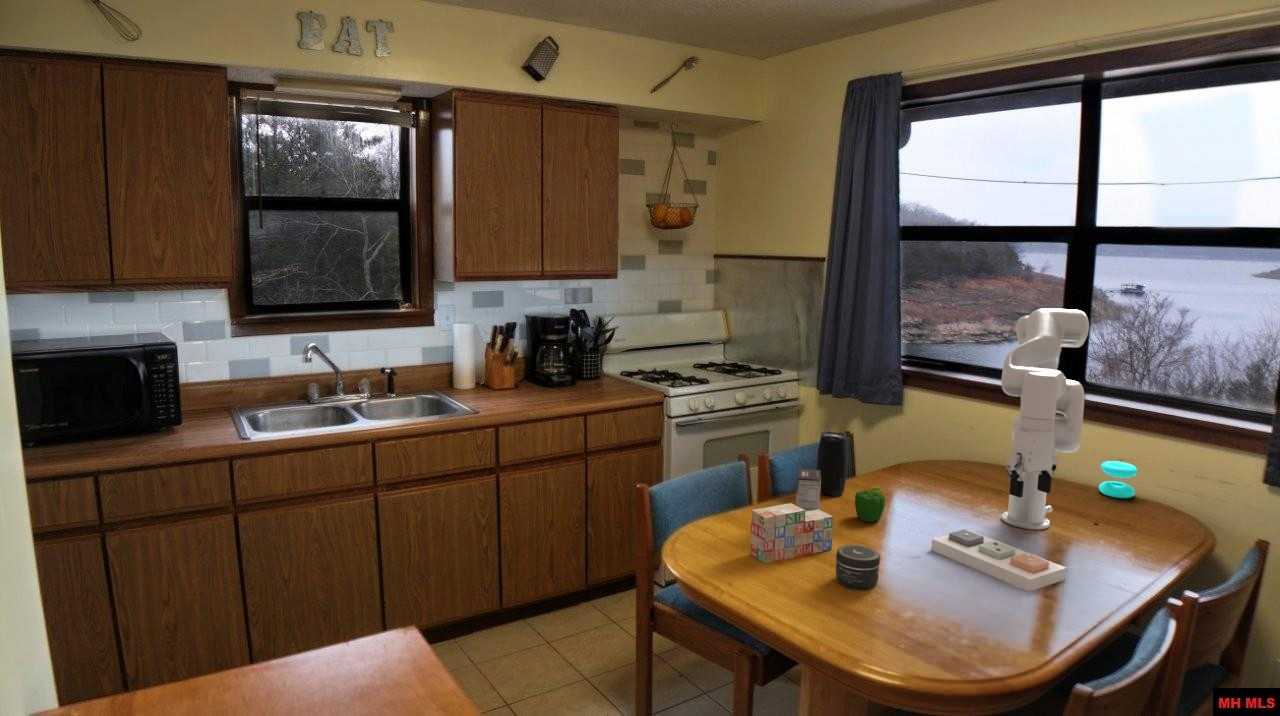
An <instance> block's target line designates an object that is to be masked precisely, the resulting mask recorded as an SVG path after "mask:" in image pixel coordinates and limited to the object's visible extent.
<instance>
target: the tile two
mask: <svg viewBox="0 0 1280 716" xmlns="http://www.w3.org/2000/svg"><path fill="white" fill-rule="evenodd" d="M996 541H997V540H996ZM996 541H992V542H988V543H985V544H981V545H979V549H978V551H979V552H981V553H984V554H986V555H989V556H991V557H994V558H996V559H999V560H1001V559H1005V558H1008V557H1011V556H1015V549H1014V548H1015V547H1014V548H1011V547H1012V546H1011V547H1009V546H1010V545H1009V546H1006V545H1007V544H1006V545H1004V544H1005V543H1003V544H1001V543H1002V542H1001V543H998V542H999V541H998V542H996Z"/></svg>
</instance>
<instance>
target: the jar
mask: <svg viewBox="0 0 1280 716" xmlns="http://www.w3.org/2000/svg"><path fill="white" fill-rule="evenodd" d="M880 557H881V555H880V553H879V552H878V551H877V550H876V549H874V548H872V547H869V546H865V545H862V544H845V545H841V546H839V547H838V548H837V550H836V556H835V561H836V562H835V577H836V580H837V582H838V583H839V584H840V586H842V587H845V588H848V589H849V590H850V589H851V590H856V591H870V590H872V589H874V588H875V586H876V585H877V583H878V581H879V574H880V572H879V571H880V564H881V562H880V561H881V558H880Z"/></svg>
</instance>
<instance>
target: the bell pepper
mask: <svg viewBox="0 0 1280 716" xmlns="http://www.w3.org/2000/svg"><path fill="white" fill-rule="evenodd" d="M875 490H877V491H875ZM880 490H881V487H880V486H876V485H875V486H873V487H871V488H870V490H869V491H868V490H866V489H863V490H861V491H857V492H856V493H855V496H854V506H855V512H856V515H857V517H858V519H860V520H862V522H864V523H865V522H866V523H874V522H876V521H880V520H881V518H882V516H883V513H884V510H885V506H886V498H885V495H883V493H882V492H880Z"/></svg>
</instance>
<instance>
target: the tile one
mask: <svg viewBox="0 0 1280 716" xmlns="http://www.w3.org/2000/svg"><path fill="white" fill-rule="evenodd" d="M967 530H968V529H965V528H964V529H960V530H957V531H953V532H949V533H948V535H949V540H952V541H954V542H957V543H959V544H962V545H964V546H966V547H971V546H975V545H978V544H982V543H983V542H984V537H983V536H984V535H983V536H980V535H981V534H980V535H978V534H979V533H977V534H975V533H976V532H975V533H972V532H973V531H972V532H970V531H971V530H969V531H967Z"/></svg>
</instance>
